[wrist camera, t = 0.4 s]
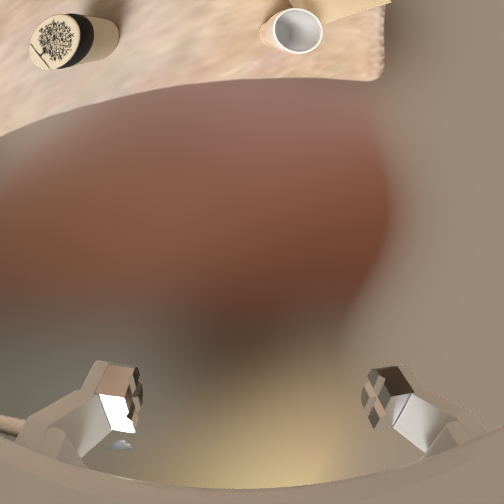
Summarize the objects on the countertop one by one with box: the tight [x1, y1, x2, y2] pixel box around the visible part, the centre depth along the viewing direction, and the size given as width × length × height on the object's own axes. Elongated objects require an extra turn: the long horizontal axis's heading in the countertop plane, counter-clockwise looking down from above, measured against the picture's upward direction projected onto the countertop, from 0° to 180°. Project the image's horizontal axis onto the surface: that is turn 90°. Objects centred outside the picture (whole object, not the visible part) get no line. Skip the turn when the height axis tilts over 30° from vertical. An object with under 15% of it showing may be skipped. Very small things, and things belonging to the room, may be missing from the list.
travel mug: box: [29, 14, 119, 70], centre depth 30 cm, size 8×8×18 cm
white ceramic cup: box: [259, 8, 323, 54], centre depth 36 cm, size 7×7×15 cm
